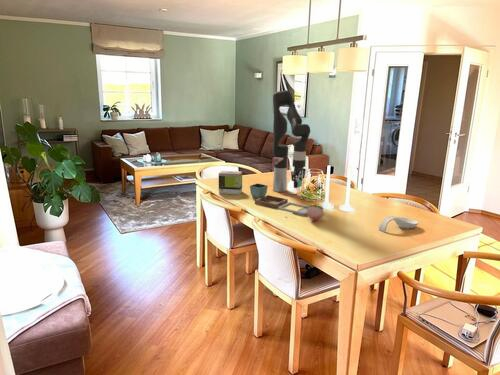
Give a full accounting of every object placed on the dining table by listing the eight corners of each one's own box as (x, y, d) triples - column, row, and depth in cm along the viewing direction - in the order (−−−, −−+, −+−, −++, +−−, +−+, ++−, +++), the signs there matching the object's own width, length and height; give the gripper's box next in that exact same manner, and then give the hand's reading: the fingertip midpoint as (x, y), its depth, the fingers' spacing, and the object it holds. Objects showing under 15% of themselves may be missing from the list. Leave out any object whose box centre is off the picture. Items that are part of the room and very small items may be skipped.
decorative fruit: (323, 219, 208) (325, 202, 206) (322, 224, 201) (323, 206, 198) (307, 217, 211) (308, 200, 208) (305, 222, 203) (306, 204, 201)
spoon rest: (404, 222, 208) (405, 210, 206) (422, 229, 198) (424, 216, 196) (373, 228, 197) (374, 215, 195) (390, 236, 187) (392, 222, 185)
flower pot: (259, 201, 240) (260, 187, 238) (249, 198, 245) (249, 185, 243) (267, 198, 247) (268, 185, 245) (257, 196, 252) (257, 183, 250)
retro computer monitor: (242, 191, 262) (242, 171, 259) (239, 195, 253) (239, 174, 249) (221, 190, 265) (221, 169, 261) (218, 193, 255) (218, 172, 252)
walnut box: (267, 199, 243) (268, 195, 243) (287, 204, 235) (287, 199, 234) (254, 205, 232) (254, 200, 231) (275, 209, 223) (275, 204, 222)
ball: (295, 185, 223) (296, 177, 222) (303, 187, 220) (303, 179, 219) (291, 187, 219) (292, 179, 218) (299, 188, 216) (299, 180, 215)
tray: (289, 204, 234) (289, 202, 233) (315, 210, 224) (315, 207, 223) (277, 210, 223) (277, 207, 222) (304, 216, 213) (304, 213, 212)
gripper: (299, 156, 223) (297, 183, 227) (287, 159, 212) (286, 188, 216) (310, 157, 219) (308, 185, 223) (299, 161, 208) (297, 190, 212)
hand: (297, 186), depth 220 cm, fingers closed on ball, 5 cm apart
